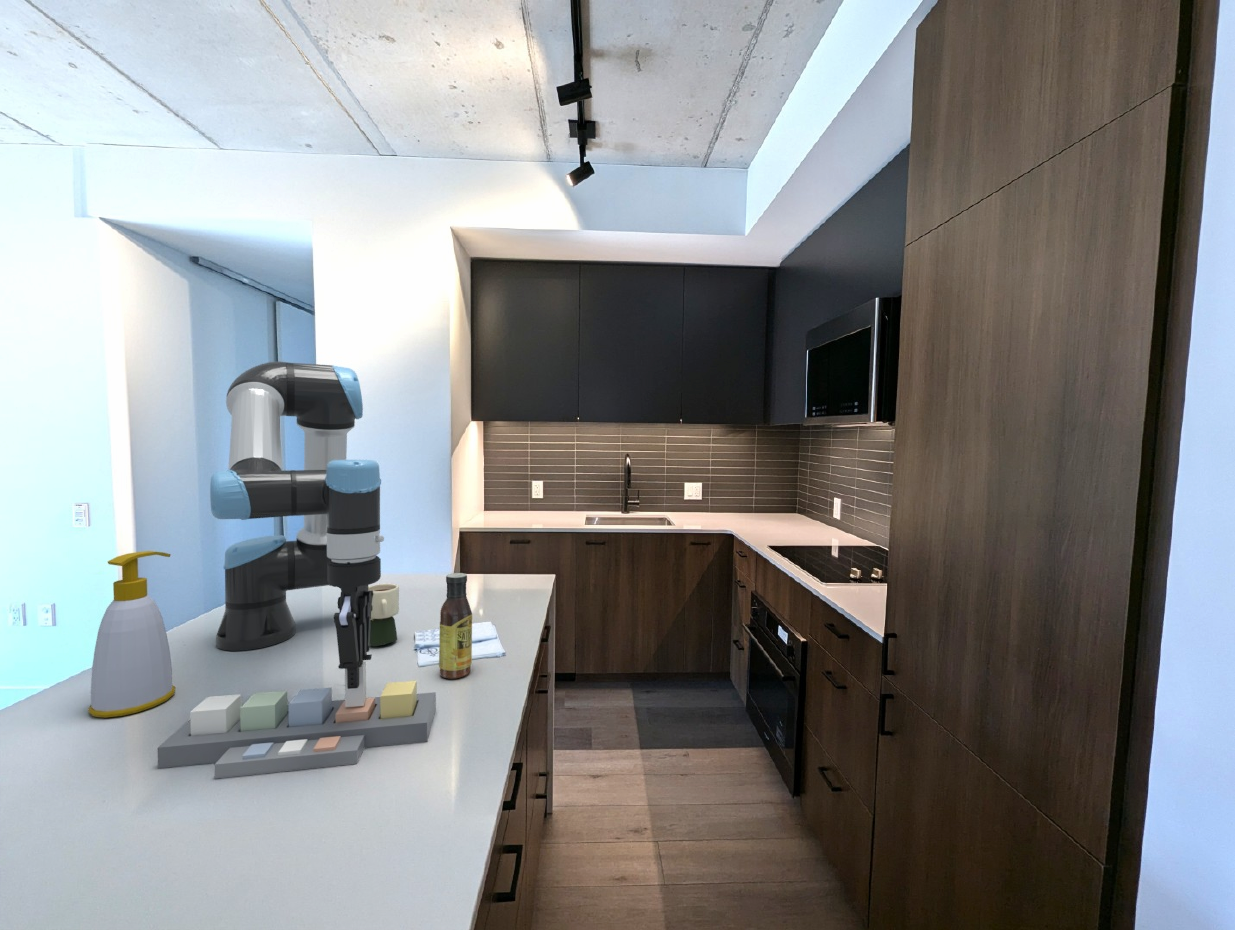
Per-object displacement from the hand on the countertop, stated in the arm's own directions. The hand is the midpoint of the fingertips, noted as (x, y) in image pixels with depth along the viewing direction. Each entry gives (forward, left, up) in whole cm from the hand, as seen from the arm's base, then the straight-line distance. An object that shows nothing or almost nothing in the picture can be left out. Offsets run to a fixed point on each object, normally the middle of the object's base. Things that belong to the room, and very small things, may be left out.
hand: (355, 704), depth 83 cm
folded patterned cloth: (-34, +12, -5) cm, 37 cm away
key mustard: (0, +6, -2) cm, 7 cm away
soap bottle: (-17, -41, -5) cm, 44 cm away
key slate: (0, -7, -2) cm, 7 cm away
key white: (0, -20, -2) cm, 20 cm away
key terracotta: (0, 0, -4) cm, 4 cm away
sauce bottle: (-19, +13, -5) cm, 24 cm away
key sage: (0, -13, -2) cm, 13 cm away
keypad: (+2, -7, -5) cm, 8 cm away
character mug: (-38, -5, -5) cm, 39 cm away
